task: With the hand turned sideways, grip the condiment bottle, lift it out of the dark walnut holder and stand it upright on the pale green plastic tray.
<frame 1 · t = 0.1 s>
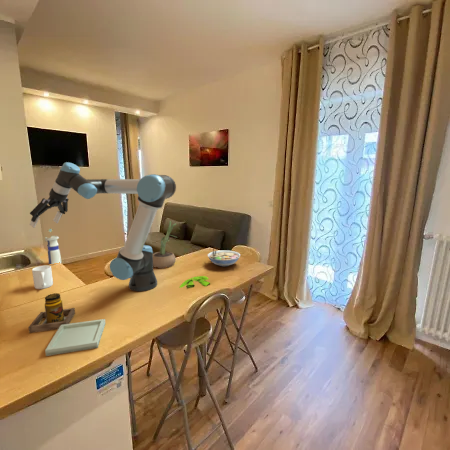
hand: (44, 223, 136), 36 cm above the breakfast bar, tool tilted 35°, fingers open, 13 cm apart
tray: (78, 338, 97), on the breakfast bar
holder: (53, 322, 108), on the breakfast bar
cloth: (196, 285, 147), on the breakfast bar
ramen bowl: (223, 265, 179), on the breakfast bar
water bottle: (54, 263, 183), on the breakfast bar
mug: (44, 287, 143), on the breakfast bar
condiment: (53, 323, 108), resting in holder
potted plant: (167, 264, 182), on the breakfast bar
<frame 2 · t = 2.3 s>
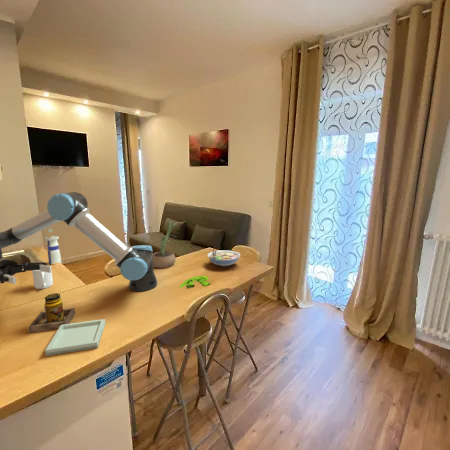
hand: (33, 274, 108), 19 cm above the breakfast bar, tool horizontal, fingers open, 13 cm apart
nothing on the breakfast bar moved.
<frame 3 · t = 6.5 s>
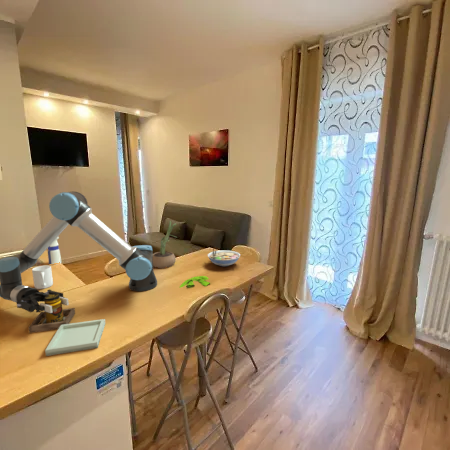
hand: (59, 305, 104), 9 cm above the breakfast bar, tool horizontal, fingers closed on condiment, 6 cm apart
condiment: (53, 323, 107), resting in holder, touching gripper
everything else where it was.
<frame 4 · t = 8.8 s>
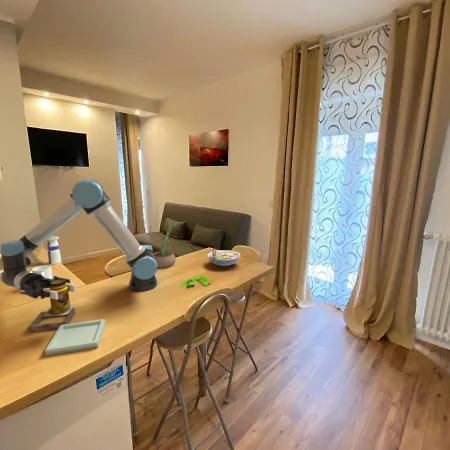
hand: (66, 292, 95), 18 cm above the breakfast bar, tool horizontal, fingers closed on condiment, 6 cm apart
condiment: (59, 311, 99), point 9 cm above the breakfast bar, touching gripper
everything else where it was.
when the fingers open (11 cm above the breakfast bar, at t = 11.0 s): condiment drops 1 cm, resting on tray.
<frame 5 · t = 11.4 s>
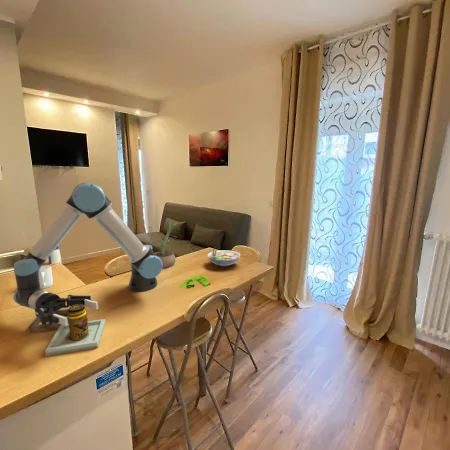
hand: (82, 313, 93), 11 cm above the breakfast bar, tool horizontal, fingers open, 11 cm apart
condiment: (77, 337, 96), point 1 cm above the breakfast bar, touching tray
everything else where it was.
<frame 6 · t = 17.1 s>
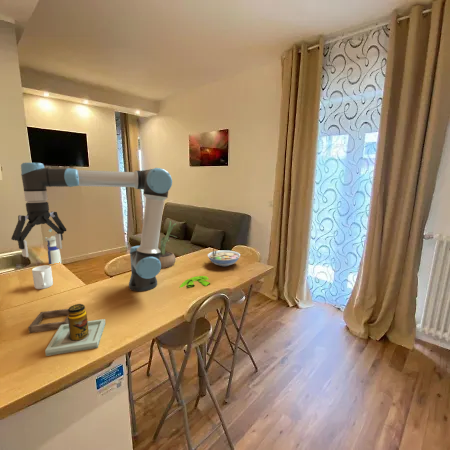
hand: (43, 252, 108), 29 cm above the breakfast bar, tool pointing down, fingers open, 13 cm apart
nothing on the breakfast bar moved.
at the end: condiment inside the target area on the tray (0.4 cm from its centre), point 0.8 cm above the tray's base; condiment tilted 0°; the gripper is holding nothing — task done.
